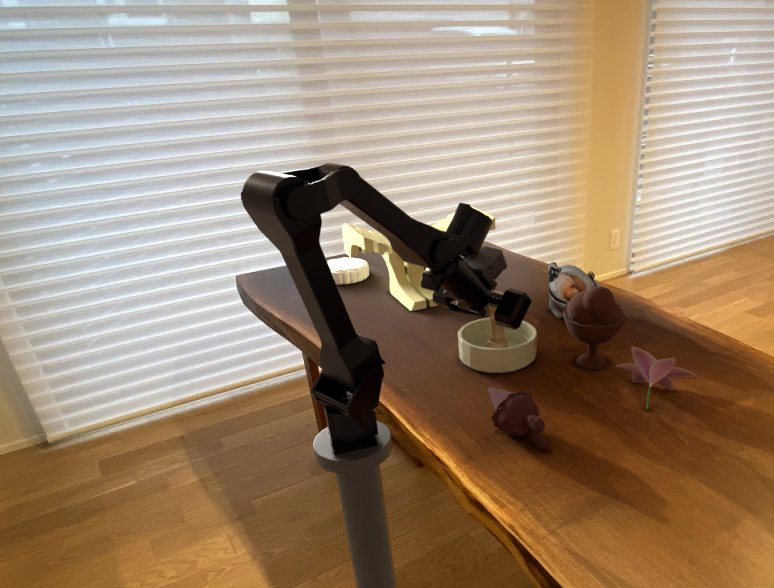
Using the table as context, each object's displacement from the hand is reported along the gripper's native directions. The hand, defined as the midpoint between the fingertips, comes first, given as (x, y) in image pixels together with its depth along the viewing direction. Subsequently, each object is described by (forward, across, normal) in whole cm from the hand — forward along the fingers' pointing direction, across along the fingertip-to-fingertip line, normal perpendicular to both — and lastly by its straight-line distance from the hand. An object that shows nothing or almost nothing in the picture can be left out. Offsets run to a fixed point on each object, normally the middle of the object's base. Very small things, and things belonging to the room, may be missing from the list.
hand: (501, 319), depth 113 cm
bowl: (+4, 0, +6) cm, 7 cm away
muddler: (+4, 0, +6) cm, 7 cm away
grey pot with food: (+23, -1, -12) cm, 26 cm away
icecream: (-8, -18, +19) cm, 27 cm away
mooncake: (+12, +59, -2) cm, 60 cm away
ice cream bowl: (+10, -15, 0) cm, 18 cm away
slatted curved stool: (+14, +34, -4) cm, 37 cm away
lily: (+7, -30, +3) cm, 31 cm away
